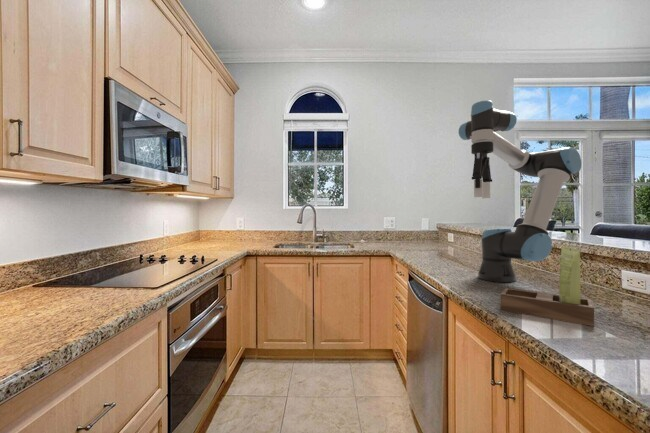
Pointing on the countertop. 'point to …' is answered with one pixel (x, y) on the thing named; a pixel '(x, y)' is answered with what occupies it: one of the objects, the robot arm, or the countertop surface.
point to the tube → (569, 276)
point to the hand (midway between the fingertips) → (482, 197)
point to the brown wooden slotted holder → (547, 306)
